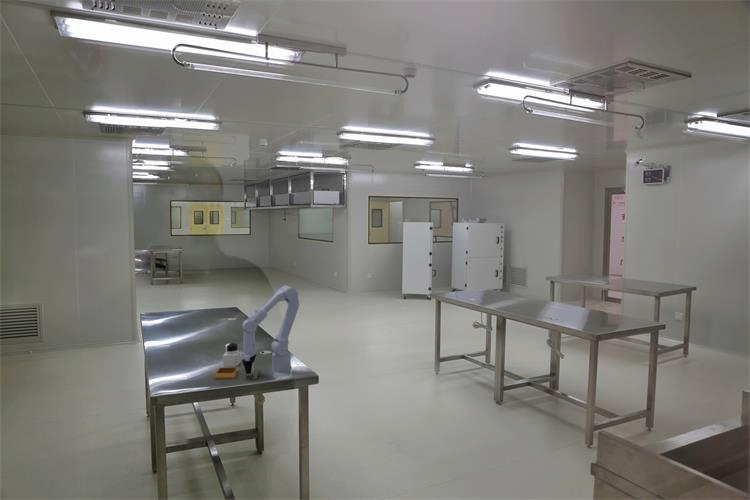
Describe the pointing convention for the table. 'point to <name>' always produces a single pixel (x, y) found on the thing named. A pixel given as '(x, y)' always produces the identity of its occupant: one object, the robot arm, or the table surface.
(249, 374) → the canister
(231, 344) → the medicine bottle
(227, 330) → the table surface
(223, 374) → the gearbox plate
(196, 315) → the table surface
